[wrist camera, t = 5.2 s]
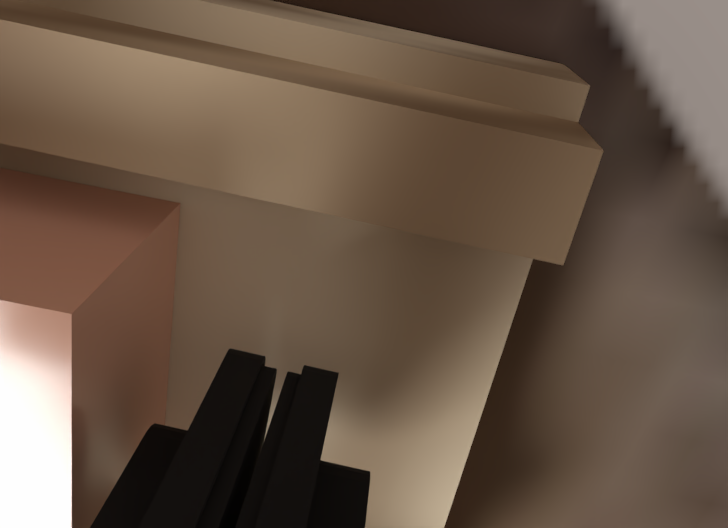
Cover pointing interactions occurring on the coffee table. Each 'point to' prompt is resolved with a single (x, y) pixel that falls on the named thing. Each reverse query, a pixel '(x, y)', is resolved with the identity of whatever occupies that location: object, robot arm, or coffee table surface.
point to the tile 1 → (79, 341)
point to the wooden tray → (318, 201)
